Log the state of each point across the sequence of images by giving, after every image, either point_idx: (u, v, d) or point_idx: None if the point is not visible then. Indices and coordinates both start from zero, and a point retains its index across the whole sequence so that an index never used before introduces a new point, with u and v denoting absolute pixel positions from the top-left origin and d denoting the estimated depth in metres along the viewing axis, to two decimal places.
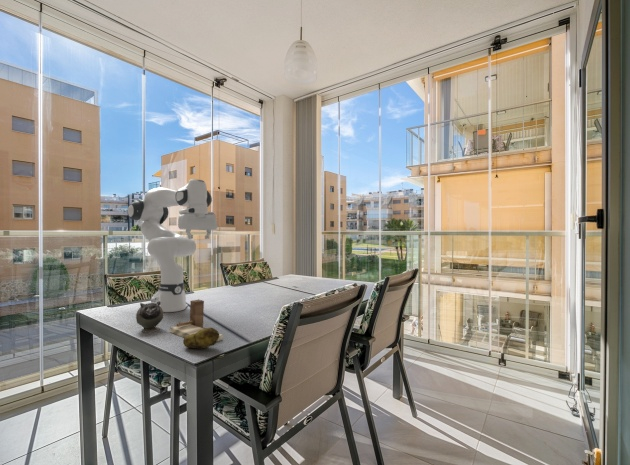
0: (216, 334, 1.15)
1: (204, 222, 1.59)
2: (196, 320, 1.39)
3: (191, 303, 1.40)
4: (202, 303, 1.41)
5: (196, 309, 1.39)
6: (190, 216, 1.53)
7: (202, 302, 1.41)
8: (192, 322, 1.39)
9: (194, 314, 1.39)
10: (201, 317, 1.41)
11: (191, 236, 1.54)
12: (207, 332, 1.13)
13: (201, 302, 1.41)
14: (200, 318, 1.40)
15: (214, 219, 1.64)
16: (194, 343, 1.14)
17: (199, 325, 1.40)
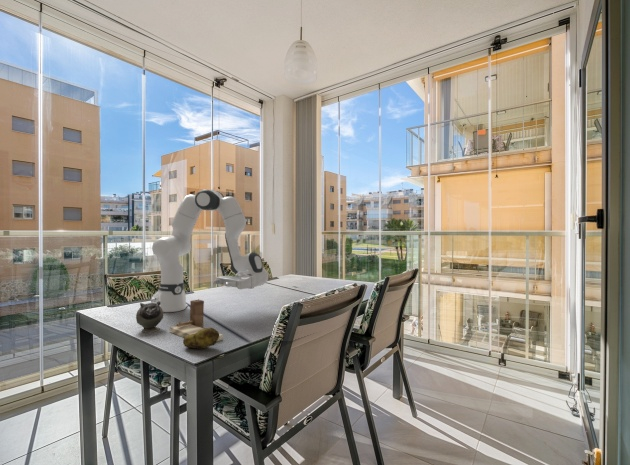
0: (216, 334, 1.15)
1: None
2: (196, 320, 1.39)
3: (191, 303, 1.40)
4: (202, 303, 1.41)
5: (196, 309, 1.39)
6: None
7: (202, 302, 1.41)
8: (192, 322, 1.39)
9: (194, 314, 1.39)
10: (201, 317, 1.41)
11: None
12: (207, 332, 1.13)
13: (201, 302, 1.41)
14: (200, 318, 1.40)
15: None
16: (194, 343, 1.14)
17: (199, 325, 1.40)
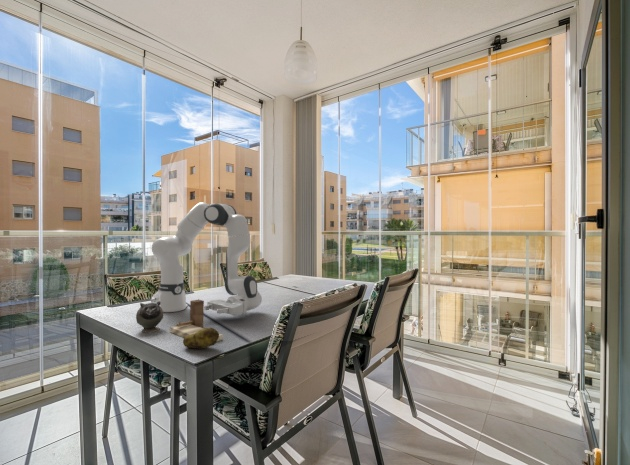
0: (216, 334, 1.15)
1: None
2: (196, 320, 1.39)
3: (191, 303, 1.40)
4: (202, 303, 1.41)
5: (196, 309, 1.39)
6: None
7: (202, 302, 1.41)
8: (192, 322, 1.39)
9: (194, 314, 1.39)
10: (201, 317, 1.41)
11: None
12: (207, 332, 1.13)
13: (201, 302, 1.41)
14: (200, 318, 1.40)
15: None
16: (194, 343, 1.14)
17: (199, 325, 1.40)
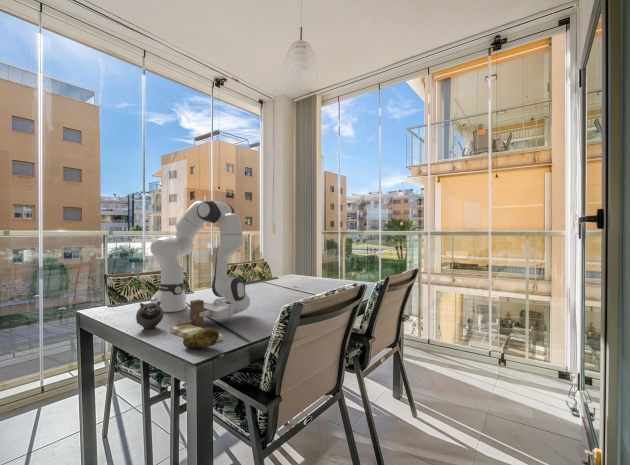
0: (216, 334, 1.15)
1: None
2: (196, 320, 1.39)
3: (191, 303, 1.40)
4: (202, 303, 1.41)
5: (196, 309, 1.39)
6: None
7: (202, 302, 1.41)
8: (192, 322, 1.39)
9: (194, 314, 1.39)
10: (201, 317, 1.41)
11: None
12: (207, 332, 1.13)
13: (201, 302, 1.41)
14: (200, 318, 1.40)
15: None
16: (194, 343, 1.14)
17: (199, 325, 1.40)
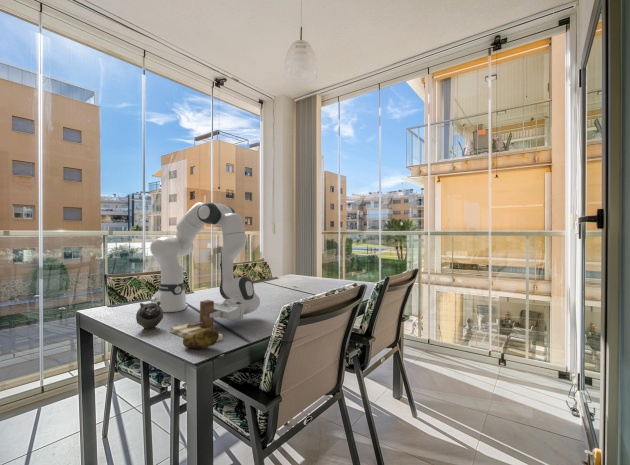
0: (215, 334, 1.15)
1: None
2: (206, 321, 1.35)
3: (201, 304, 1.36)
4: (212, 303, 1.37)
5: (206, 310, 1.35)
6: None
7: (212, 303, 1.37)
8: (202, 323, 1.35)
9: (204, 315, 1.35)
10: (211, 318, 1.37)
11: None
12: (206, 332, 1.13)
13: (211, 303, 1.37)
14: (210, 319, 1.36)
15: None
16: (194, 343, 1.14)
17: (209, 326, 1.36)
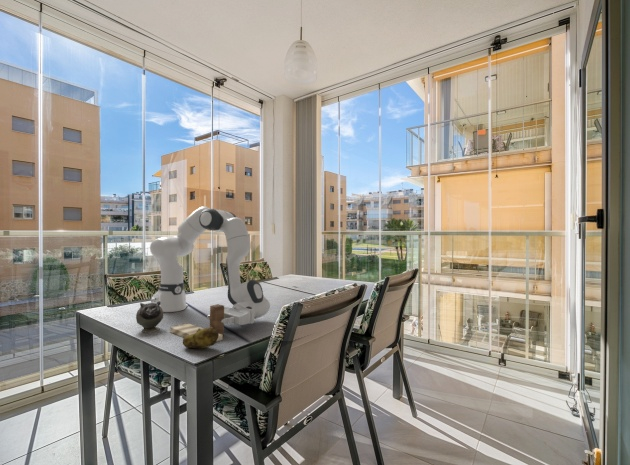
0: (215, 334, 1.15)
1: None
2: (216, 326, 1.31)
3: (211, 308, 1.32)
4: (222, 308, 1.33)
5: (217, 315, 1.31)
6: None
7: (222, 307, 1.33)
8: None
9: (214, 320, 1.31)
10: (221, 323, 1.33)
11: None
12: (206, 332, 1.13)
13: (221, 307, 1.33)
14: (220, 324, 1.32)
15: None
16: (193, 343, 1.14)
17: (219, 332, 1.32)
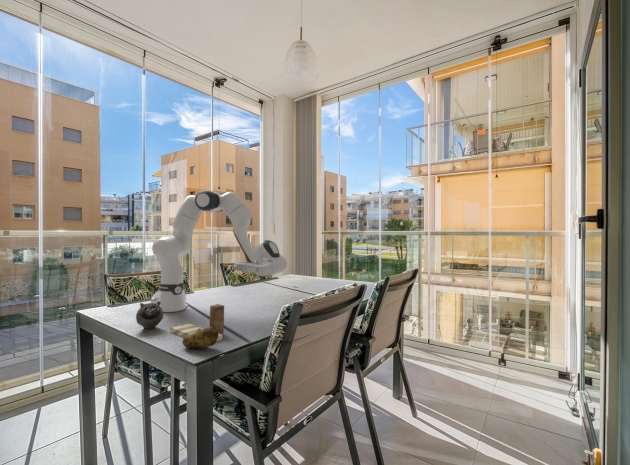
0: (215, 334, 1.15)
1: None
2: (216, 326, 1.31)
3: (211, 308, 1.32)
4: (222, 308, 1.33)
5: (217, 315, 1.31)
6: None
7: (222, 307, 1.33)
8: None
9: (214, 320, 1.31)
10: (221, 323, 1.33)
11: (249, 271, 1.43)
12: (206, 332, 1.13)
13: (221, 307, 1.32)
14: (220, 324, 1.32)
15: None
16: (193, 343, 1.14)
17: (219, 332, 1.32)
